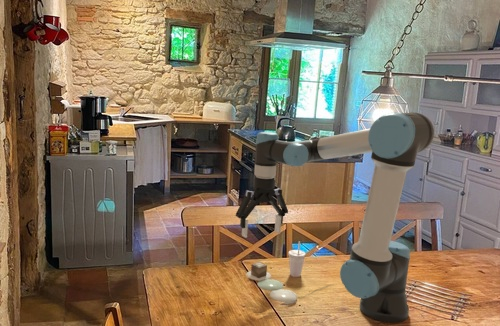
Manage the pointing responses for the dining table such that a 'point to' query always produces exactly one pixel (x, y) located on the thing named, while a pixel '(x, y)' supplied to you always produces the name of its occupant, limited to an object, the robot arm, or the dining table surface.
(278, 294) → the saucer near
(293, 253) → the smoothie
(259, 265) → the letter cube
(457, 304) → the dining table surface
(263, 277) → the saucer far
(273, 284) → the saucer mid
